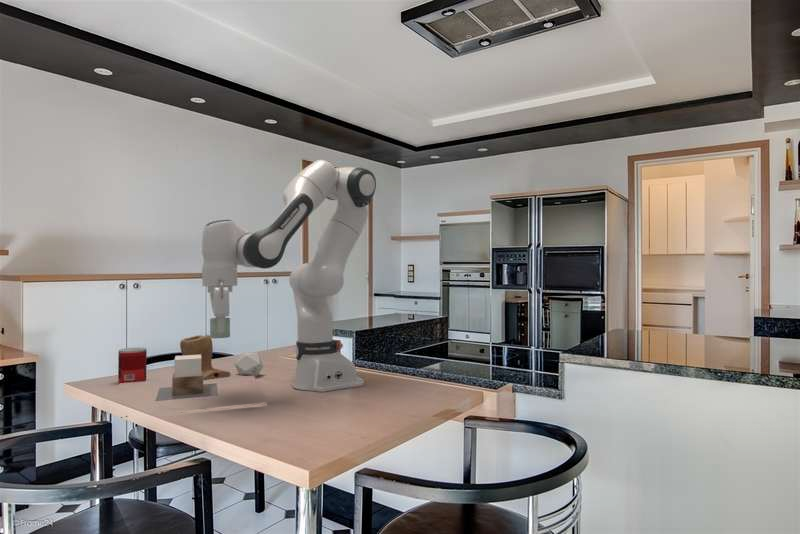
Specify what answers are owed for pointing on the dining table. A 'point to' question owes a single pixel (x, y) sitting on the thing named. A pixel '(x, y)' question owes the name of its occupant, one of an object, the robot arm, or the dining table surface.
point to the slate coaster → (167, 395)
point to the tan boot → (202, 355)
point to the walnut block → (187, 385)
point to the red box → (132, 365)
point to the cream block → (187, 366)
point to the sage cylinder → (213, 329)
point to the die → (249, 364)
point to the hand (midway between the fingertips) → (220, 330)
